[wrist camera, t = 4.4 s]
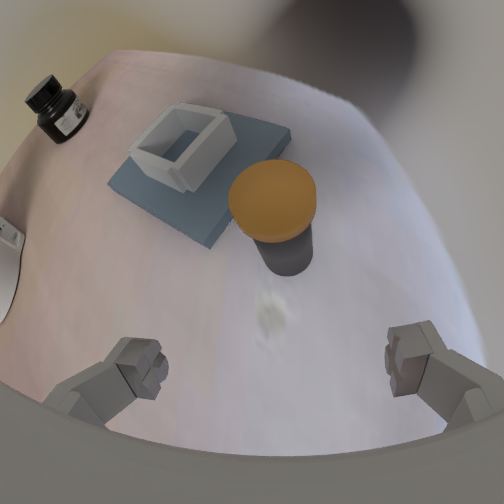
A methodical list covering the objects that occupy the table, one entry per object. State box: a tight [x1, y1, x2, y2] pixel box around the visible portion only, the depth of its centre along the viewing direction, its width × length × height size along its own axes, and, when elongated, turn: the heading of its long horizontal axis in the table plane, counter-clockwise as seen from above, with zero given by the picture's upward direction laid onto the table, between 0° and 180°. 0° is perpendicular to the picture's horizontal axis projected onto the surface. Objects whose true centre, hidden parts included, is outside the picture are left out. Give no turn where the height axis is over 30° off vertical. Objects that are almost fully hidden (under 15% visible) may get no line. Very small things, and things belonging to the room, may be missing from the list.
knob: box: [228, 159, 316, 276], centre depth 19 cm, size 5×5×8 cm
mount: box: [107, 102, 291, 249], centre depth 27 cm, size 16×14×5 cm
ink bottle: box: [25, 75, 89, 144], centre depth 36 cm, size 10×9×12 cm
